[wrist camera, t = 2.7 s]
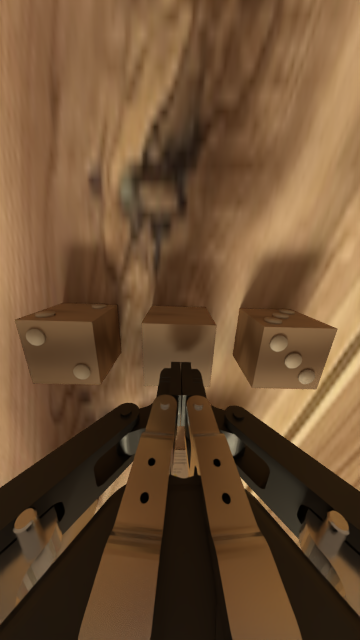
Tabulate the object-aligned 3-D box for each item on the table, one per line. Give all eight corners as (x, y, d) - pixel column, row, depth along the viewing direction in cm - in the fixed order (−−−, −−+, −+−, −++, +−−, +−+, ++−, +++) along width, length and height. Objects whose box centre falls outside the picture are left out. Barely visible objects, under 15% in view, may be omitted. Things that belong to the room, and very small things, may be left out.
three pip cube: (279, 355, 22) (318, 390, 16) (232, 354, 21) (252, 389, 16) (291, 307, 20) (340, 327, 14) (239, 306, 19) (266, 325, 14)
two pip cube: (121, 351, 21) (99, 386, 15) (72, 350, 21) (31, 385, 15) (117, 302, 19) (90, 320, 13) (63, 301, 19) (11, 318, 13)
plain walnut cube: (201, 353, 21) (209, 387, 16) (153, 352, 21) (143, 385, 16) (205, 307, 19) (216, 325, 14) (152, 305, 19) (141, 323, 14)
